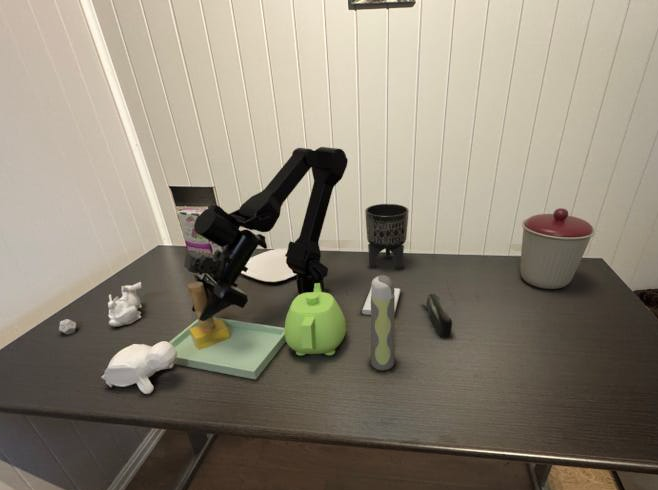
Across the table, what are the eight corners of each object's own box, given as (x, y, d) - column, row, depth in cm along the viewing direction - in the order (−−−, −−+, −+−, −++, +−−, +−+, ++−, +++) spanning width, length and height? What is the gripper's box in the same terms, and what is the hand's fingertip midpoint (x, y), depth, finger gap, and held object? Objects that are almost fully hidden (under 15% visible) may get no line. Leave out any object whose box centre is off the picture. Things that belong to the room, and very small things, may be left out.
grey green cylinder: (371, 356, 80) (369, 272, 70) (393, 356, 80) (395, 272, 70) (370, 371, 76) (368, 284, 66) (394, 371, 76) (396, 284, 65)
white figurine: (138, 304, 101) (125, 272, 96) (162, 307, 100) (151, 274, 95) (103, 329, 91) (87, 294, 86) (130, 332, 90) (115, 297, 85)
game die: (57, 334, 90) (51, 324, 88) (72, 326, 93) (67, 316, 91) (67, 337, 89) (61, 327, 87) (82, 329, 91) (77, 319, 90)
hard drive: (400, 293, 104) (394, 317, 93) (371, 291, 105) (362, 314, 95) (400, 288, 103) (394, 311, 93) (371, 286, 104) (361, 308, 94)
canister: (591, 284, 106) (615, 210, 95) (553, 303, 98) (575, 224, 87) (535, 263, 119) (551, 196, 108) (497, 278, 111) (510, 207, 100)
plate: (279, 250, 133) (278, 245, 132) (325, 264, 122) (325, 259, 121) (228, 272, 118) (226, 267, 117) (275, 290, 107) (274, 285, 106)
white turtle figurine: (117, 403, 74) (175, 386, 70) (85, 372, 70) (145, 352, 66) (143, 374, 81) (197, 357, 77) (116, 344, 77) (172, 325, 73)
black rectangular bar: (455, 320, 83) (434, 287, 95) (442, 321, 83) (423, 288, 95) (452, 338, 86) (432, 304, 98) (439, 339, 85) (421, 305, 98)
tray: (290, 335, 87) (289, 328, 86) (255, 379, 75) (254, 371, 74) (204, 322, 93) (201, 315, 92) (158, 361, 80) (155, 353, 79)
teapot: (295, 319, 93) (289, 273, 87) (349, 318, 93) (346, 273, 87) (278, 372, 76) (268, 320, 70) (343, 371, 76) (340, 319, 70)
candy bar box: (225, 258, 127) (214, 210, 119) (215, 263, 123) (202, 214, 115) (199, 253, 131) (187, 207, 122) (189, 259, 127) (175, 211, 118)
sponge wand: (222, 328, 89) (208, 276, 82) (230, 338, 86) (216, 284, 79) (192, 339, 86) (174, 285, 78) (199, 349, 82) (181, 294, 75)
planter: (369, 255, 127) (368, 203, 117) (407, 257, 125) (409, 204, 116) (363, 272, 116) (362, 215, 107) (405, 274, 114) (407, 216, 105)
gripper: (188, 225, 82) (150, 285, 82) (219, 249, 69) (174, 320, 69) (230, 250, 90) (196, 304, 90) (265, 275, 78) (225, 339, 78)
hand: (197, 315), depth 82 cm, fingers open, 4 cm apart
